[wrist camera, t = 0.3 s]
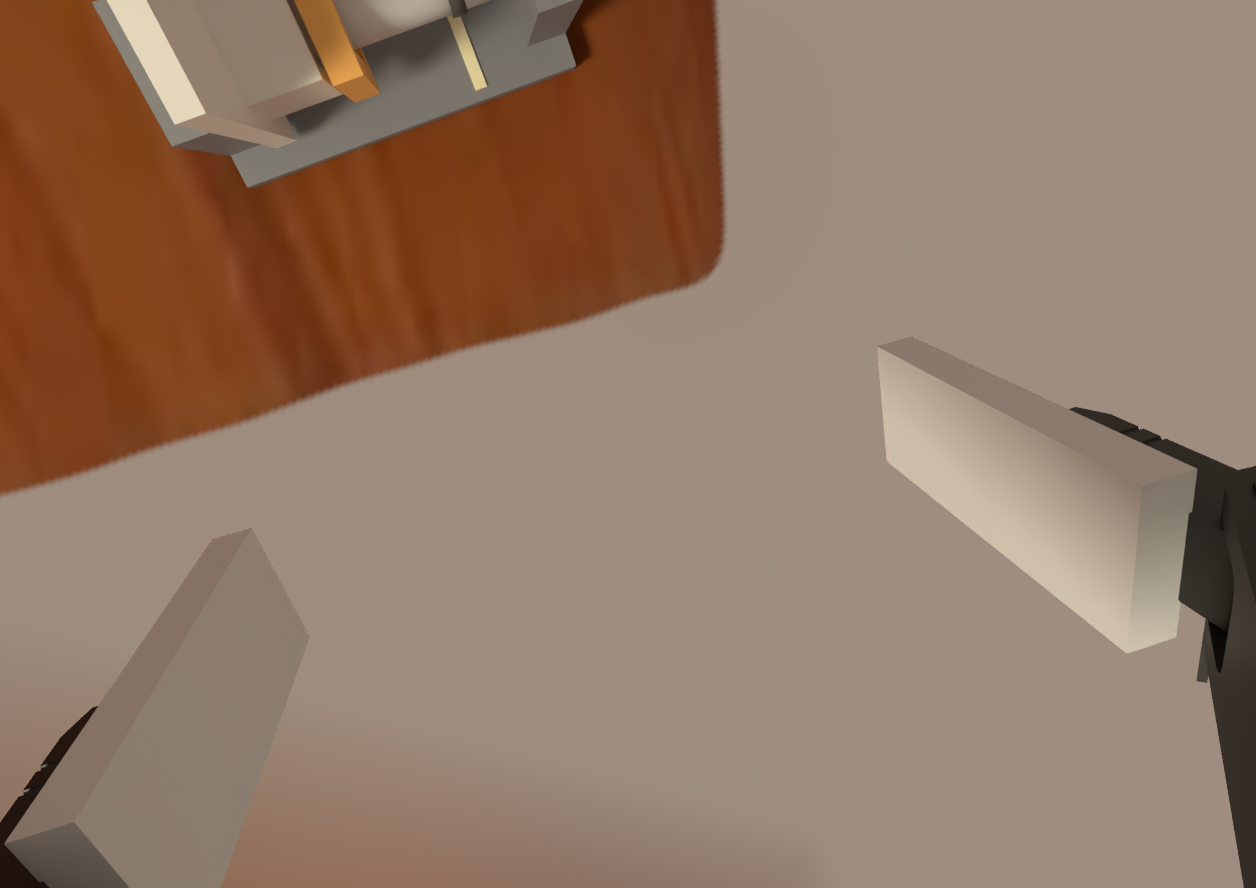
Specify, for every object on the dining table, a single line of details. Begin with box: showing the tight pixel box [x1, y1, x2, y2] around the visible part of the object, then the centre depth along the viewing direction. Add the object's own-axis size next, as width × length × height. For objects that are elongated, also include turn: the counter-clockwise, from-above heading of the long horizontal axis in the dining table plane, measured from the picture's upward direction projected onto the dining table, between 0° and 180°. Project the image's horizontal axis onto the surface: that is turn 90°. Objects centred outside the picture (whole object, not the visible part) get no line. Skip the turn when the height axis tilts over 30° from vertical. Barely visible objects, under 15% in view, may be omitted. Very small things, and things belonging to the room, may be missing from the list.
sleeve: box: [107, 0, 343, 148], centre depth 26 cm, size 4×6×12 cm, turn 19°
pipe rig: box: [92, 0, 583, 188], centre depth 31 cm, size 17×8×8 cm, turn 109°
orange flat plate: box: [294, 0, 380, 103], centre depth 28 cm, size 1×5×5 cm, turn 19°
